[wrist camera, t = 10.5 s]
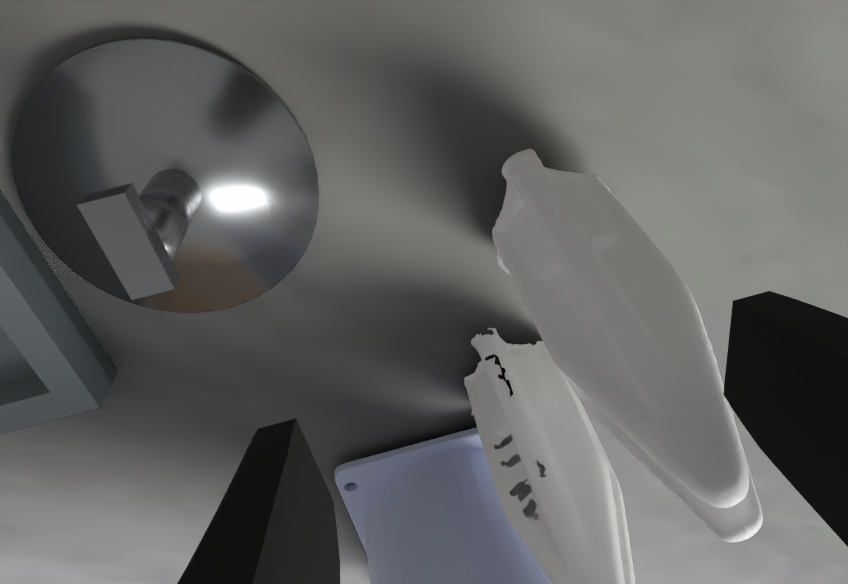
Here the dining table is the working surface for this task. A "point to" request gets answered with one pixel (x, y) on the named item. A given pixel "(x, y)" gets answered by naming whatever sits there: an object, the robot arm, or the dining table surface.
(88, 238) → the grey round piece
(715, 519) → the salt and pepper shakers
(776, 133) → the dining table surface
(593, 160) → the dining table surface
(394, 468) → the robot arm
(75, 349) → the tray
